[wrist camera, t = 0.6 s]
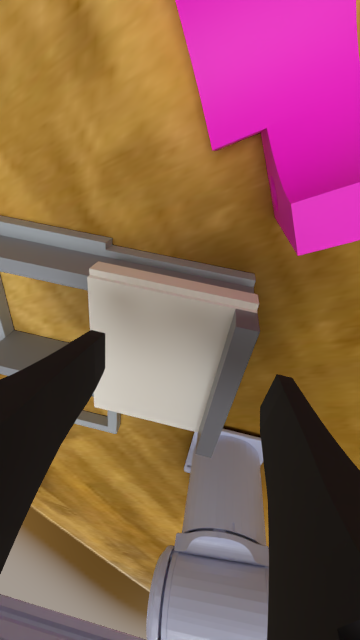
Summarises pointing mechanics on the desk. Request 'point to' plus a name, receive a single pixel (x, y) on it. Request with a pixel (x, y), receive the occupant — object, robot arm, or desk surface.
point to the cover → (171, 347)
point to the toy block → (286, 103)
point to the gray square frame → (80, 284)
